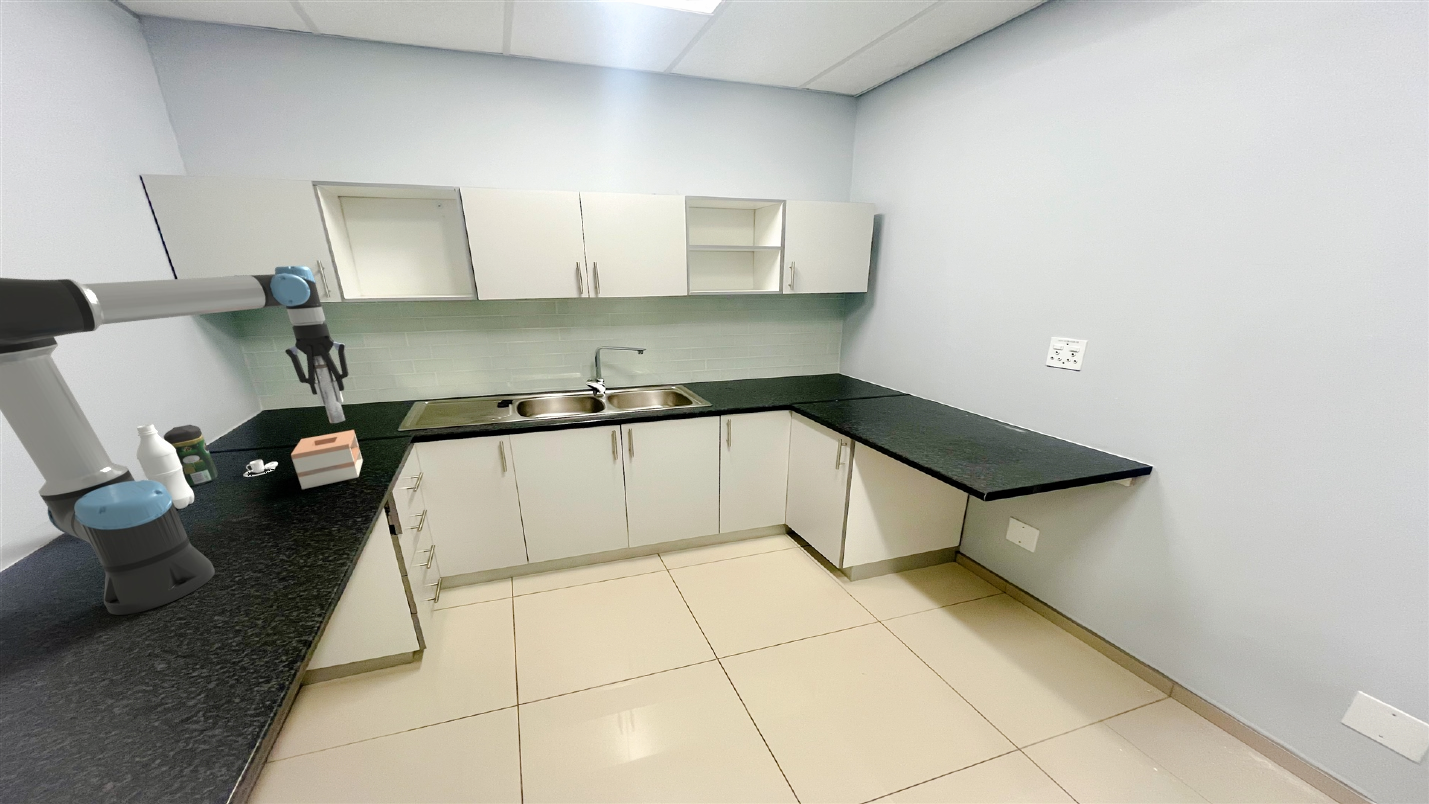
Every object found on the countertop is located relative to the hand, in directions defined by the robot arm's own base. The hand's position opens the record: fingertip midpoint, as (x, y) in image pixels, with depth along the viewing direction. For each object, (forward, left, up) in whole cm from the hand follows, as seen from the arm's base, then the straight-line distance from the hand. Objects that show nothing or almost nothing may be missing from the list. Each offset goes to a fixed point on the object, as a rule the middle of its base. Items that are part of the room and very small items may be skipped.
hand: (332, 403), depth 137 cm
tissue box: (+14, +7, -26) cm, 31 cm away
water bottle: (+14, +43, -27) cm, 52 cm away
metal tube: (0, 0, -6) cm, 6 cm away
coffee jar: (+35, +44, -27) cm, 62 cm away
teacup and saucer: (+32, +27, -27) cm, 50 cm away
